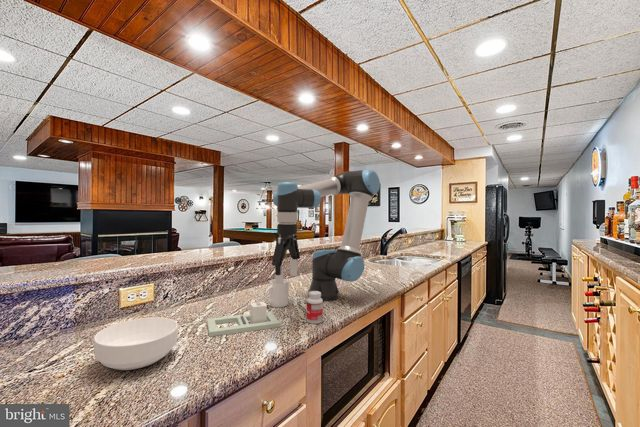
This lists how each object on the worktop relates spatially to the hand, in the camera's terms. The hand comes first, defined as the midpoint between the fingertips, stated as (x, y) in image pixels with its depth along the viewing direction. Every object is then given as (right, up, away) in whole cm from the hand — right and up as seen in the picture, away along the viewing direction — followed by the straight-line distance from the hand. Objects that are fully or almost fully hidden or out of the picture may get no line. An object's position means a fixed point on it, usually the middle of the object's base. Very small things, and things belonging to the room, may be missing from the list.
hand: (286, 279), depth 113 cm
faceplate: (-16, -16, -4) cm, 22 cm away
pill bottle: (+10, -17, +1) cm, 20 cm away
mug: (-7, -16, +19) cm, 26 cm away
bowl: (-38, -16, -31) cm, 51 cm away
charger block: (-11, -16, -2) cm, 19 cm away
